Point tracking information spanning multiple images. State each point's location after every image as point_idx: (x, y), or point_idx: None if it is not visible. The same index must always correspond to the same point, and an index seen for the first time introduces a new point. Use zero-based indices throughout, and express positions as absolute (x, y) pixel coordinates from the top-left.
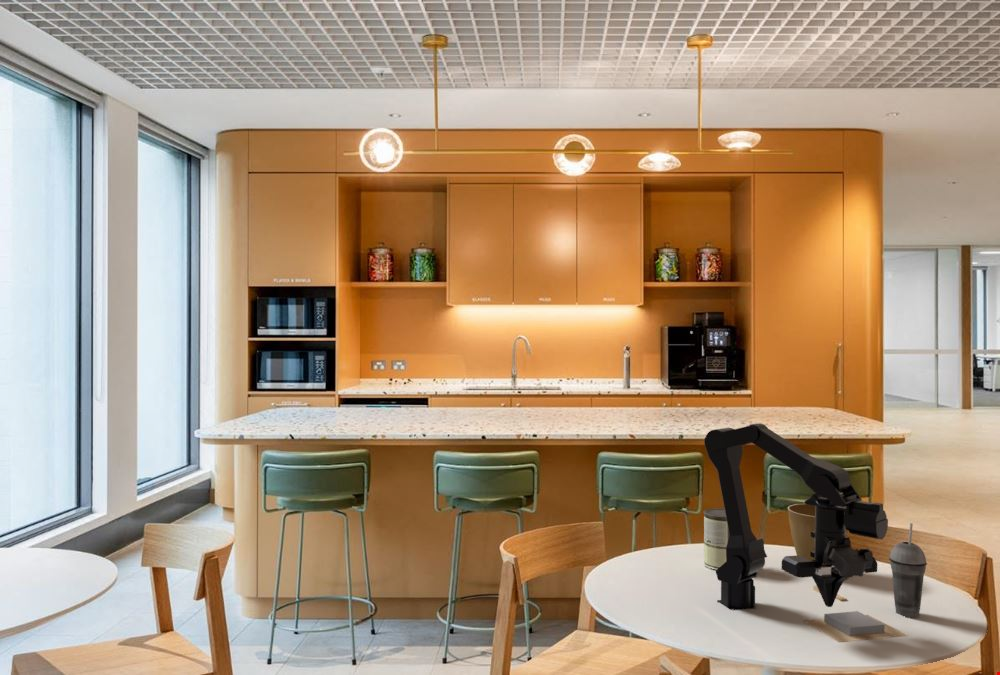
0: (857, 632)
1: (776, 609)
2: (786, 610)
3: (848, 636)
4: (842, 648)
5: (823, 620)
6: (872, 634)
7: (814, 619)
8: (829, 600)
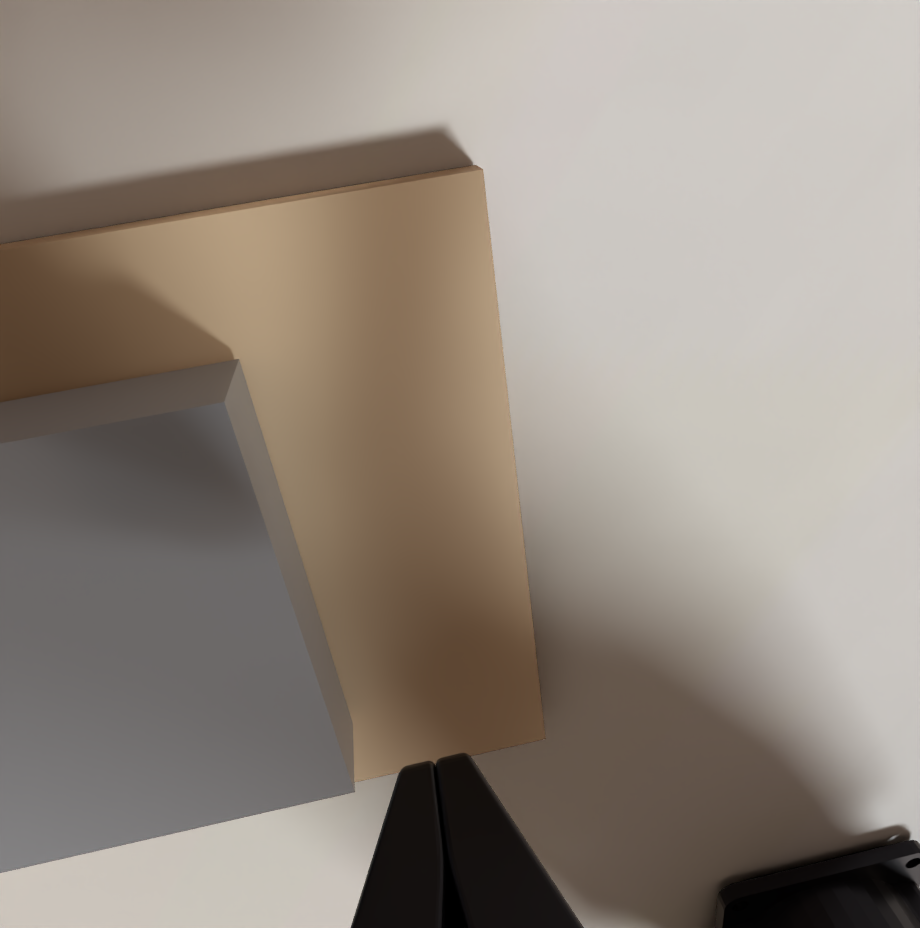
0: (109, 394)
1: None
2: None
3: (255, 362)
4: (484, 44)
5: None
6: None
7: None
8: (492, 848)
